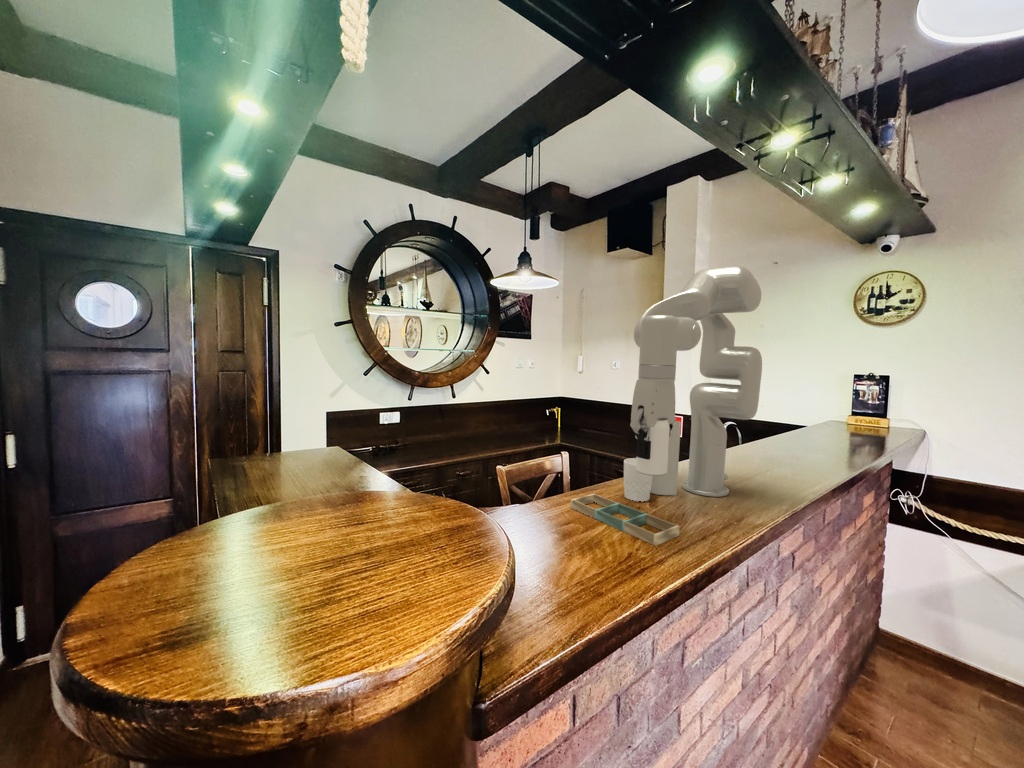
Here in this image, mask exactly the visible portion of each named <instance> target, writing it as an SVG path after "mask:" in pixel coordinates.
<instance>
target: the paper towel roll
mask: <svg viewBox="0 0 1024 768" xmlns="http://www.w3.org/2000/svg"><path fill="white" fill-rule="evenodd" d="M681 424H682V421H678V420H676V421H675V423H674V425H673V428H672V430H671V436H670V437H669V450H668V465H667V473H666V474H665V475H662V476H653V478H652V486H651V490H650V494H654V495H658V496H659V495H661V496H677V494H678V493H677V492H678V478H679V477H678V476H679V475H678V474H679V459H680V457H679V456H680V442H681V429H682V428H681Z"/></svg>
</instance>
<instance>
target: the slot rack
mask: <svg viewBox="0 0 1024 768" xmlns="http://www.w3.org/2000/svg"><path fill="white" fill-rule="evenodd" d="M593 502H595V503H593ZM589 503H591V504H596V503H597V504H596V505H598V504H599V505H598V506H601V505H602V506H601V507H600V508H595V507H592V506H589V505H590V504H589ZM585 504H588V505H585ZM603 506H605V507H603ZM571 508H572V509H571ZM570 509H571V510H574V511H576V510H577V511H576V512H578V511H579V513H580V512H581V514H583V513H584V514H583V515H585V514H586V515H585V516H587V515H589V516H590V518H592V517H593V518H592V519H594V518H595V519H594V520H596V519H597V520H596V521H598V520H599V521H598V522H601V521H602V522H601V523H603V522H604V524H605V523H606V525H607V524H608V526H611V527H612V528H614V529H617V530H619V531H621V532H624V533H626V534H628V535H630V536H632V537H635V538H636V539H640V540H642V541H644V542H646V543H649V544H651V545H653V546H655V547H657V546H660V545H661V544H664V543H665V542H668V541H670V540H673V539H675V538H677V537H680V530H681V529H680V525H678V524H676V523H673V522H670V521H667V520H665V519H662V518H659V517H657V516H654V515H653V514H652V515H651V514H648V513H646V512H644V511H641V510H639V509H636V508H633V507H631V506H628V505H625V504H622V503H620V502H617V501H614V500H612V499H609V498H607V497H604V496H601V495H599V494H597V493H591V494H587V495H583V496H580V497H576V498H571V499H570ZM611 514H612V515H611ZM615 514H621V515H623V516H626V517H628V519H625V520H624V519H621V518H619V517H616V516H614V515H615ZM589 516H588V517H589ZM644 525H648V526H651V527H653V528H656V529H658V530H661V531H659V532H657V533H654V532H652V531H650V530H648V529H645V528H643V527H641V526H644Z"/></svg>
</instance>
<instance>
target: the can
mask: <svg viewBox="0 0 1024 768" xmlns="http://www.w3.org/2000/svg"><path fill="white" fill-rule="evenodd" d="M667 420H668V418H667V419H665V420H657V423H656V425H655V426H654V427H651V428H650V439H649V441H651V451H650V459H648V460H647V459H643V458H639V457H637V456H636V457H635V458H636V469H637V471H638V472H639V473H642V474H645V475H650V476H662V475H665V474H666V473H667V465H668V446H669V424H668V421H667ZM641 424H642V425H646V422H645V421H643V422H642V423H641ZM641 429H643V430H644V432H645V433H646V429H647V428H642V427H641Z"/></svg>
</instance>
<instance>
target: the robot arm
mask: <svg viewBox="0 0 1024 768" xmlns="http://www.w3.org/2000/svg"><path fill="white" fill-rule="evenodd" d="M761 300H762V290H761V285H760V283H759V282H758V280H757V279H756V277H755V276H754V274H753V273H752V272H751V270H749V269H748V268H746V267H745V266H742V265H731V266H719V267H709V268H705V269H701V270H698V271H697V272H695V273H694V274H693V275H692V277H690V278H689V280H688V282H687V283H686V284H685V285H684V287H683V288H682V289H681V290H680V292H679V293H676V294H674V295H671V296H669V297H668V298H666V299H665V298H664V299H663V300H661V301H658V302H657V303H655V304H652V305H651V306H650V307H649V308H647V309H646V310H645V311H644V313H642V315H641V316H640V317H639V319H638V321H637V322H636V325H635V327H634V331H633V339H634V340H633V341H634V343H635V345H636V346H637V347H638V348H639V357H638V358H639V359H638V378H637V379H636V382H635V384H634V385H635V386H634V390H633V395H632V404H631V413H630V424H629V426H630V427H631V429H632V431H633V434H634V435H635V436H634V437H635V439H636V448H635V449H636V451H635V455H636V457H639V458H643V459H647V460H648V459H650V451H651V441H649V439H650V428H651V427H654V426H655V425H656V423H657V420H665V419H667V418H668V420H667V421H668V424H669V437H670V436H671V430H672V428H673V425H674V423H675V421H677V417H676V386H675V385H676V384H675V382H676V372H677V370H676V369H677V353H678V351H679V352H684V351H690V350H692V349H694V348H696V346H698V344H699V343H700V341H701V348H700V356H699V357H700V358H699V372H700V374H701V375H702V376H703V377H704V378H709V379H715V380H716V379H718V380H729V381H730V380H732V381H739V382H740V384H729V383H720V382H719V383H718V382H702V383H697V384H695V385H694V386H693V387H692V388H691V390H690V392H689V405H690V407H689V408H690V413H691V422H690V423H691V425H690V442H689V444H690V445H689V454H688V455H689V458H688V459H689V460H688V472H687V473H688V475H687V480H684V481H682V482H681V488H682V489H684V490H685V491H687V492H689V493H693V494H695V495H698V496H703V497H704V496H705V497H716V498H718V497H726V496H728V495H730V489H729V487H727V486H726V485H724V483H725V481H726V480H728V479H729V475H728V474H727V473H725V469H726V455H727V440H728V434H727V433H728V432H727V428H726V427H725V424H724V423H723V422H722V421H721V419H720V418H727V419H736V420H746V421H747V420H751V419H754V418H755V416H756V414H757V413H758V409H759V408H758V407H759V402H760V401H759V400H760V393H761V380H762V373H763V357H762V354H761V352H760V350H759V349H757V348H755V347H753V346H741V345H740V346H738V345H737V346H735V339H736V328H735V326H734V324H733V323H732V322H731V320H729V318H728V316H726V315H725V314H736V313H750V312H754V311H756V310H757V308H758V307H759V306H760V303H761ZM697 321H700V324H701V326H702V330H701V327H700V324H699V322H697ZM701 336H702V339H701ZM643 421H645V422H646V425H642V424H641V423H642V422H643ZM641 427H642V428H647V429H646V433H645V432H644V430H643V429H641ZM668 450H669V446H668Z"/></svg>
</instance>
